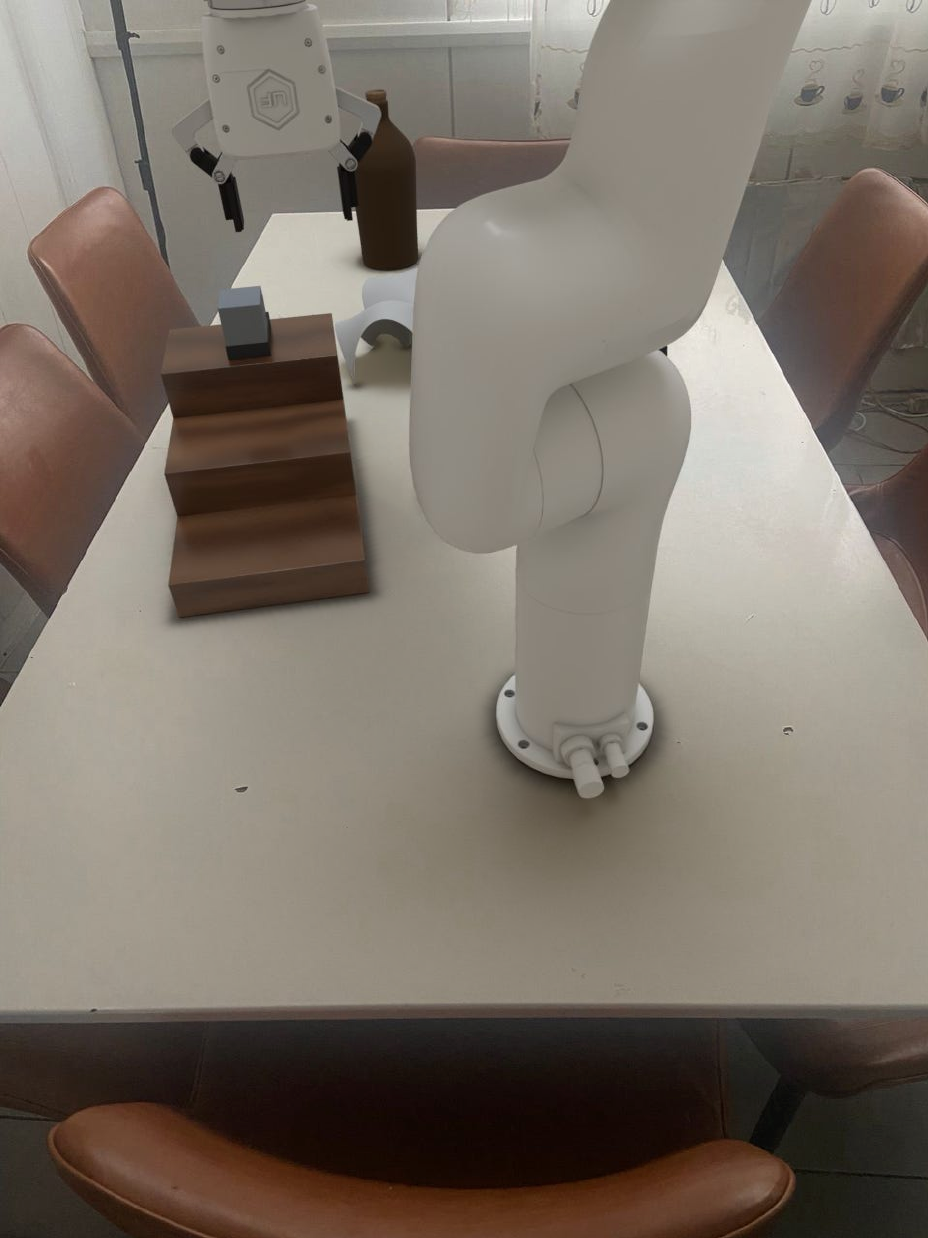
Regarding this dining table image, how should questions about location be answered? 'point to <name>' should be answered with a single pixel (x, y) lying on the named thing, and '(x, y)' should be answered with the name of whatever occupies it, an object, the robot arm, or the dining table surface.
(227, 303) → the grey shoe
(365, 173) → the olive oil
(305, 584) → the wooden step block
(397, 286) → the sculpture
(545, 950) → the dining table surface
